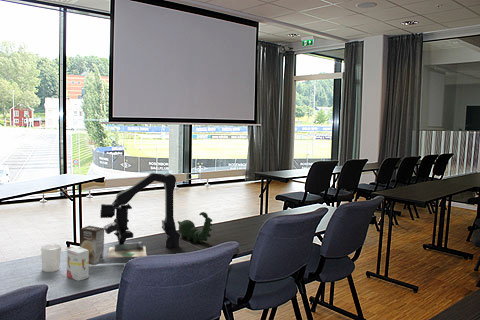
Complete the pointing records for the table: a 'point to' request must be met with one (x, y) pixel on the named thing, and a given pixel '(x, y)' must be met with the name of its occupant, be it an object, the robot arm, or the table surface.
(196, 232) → the toy figurine
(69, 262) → the ink box
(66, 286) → the table surface
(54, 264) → the white cup
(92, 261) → the coffee box
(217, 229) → the table surface
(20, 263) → the table surface
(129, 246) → the grey long bar
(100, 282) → the table surface
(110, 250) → the dial board
